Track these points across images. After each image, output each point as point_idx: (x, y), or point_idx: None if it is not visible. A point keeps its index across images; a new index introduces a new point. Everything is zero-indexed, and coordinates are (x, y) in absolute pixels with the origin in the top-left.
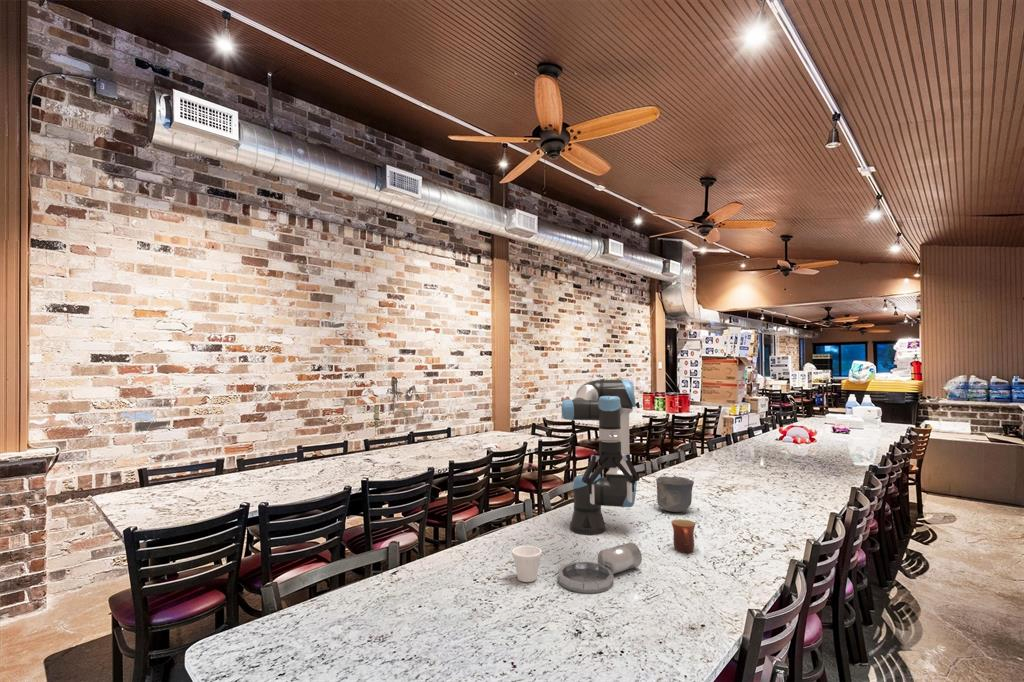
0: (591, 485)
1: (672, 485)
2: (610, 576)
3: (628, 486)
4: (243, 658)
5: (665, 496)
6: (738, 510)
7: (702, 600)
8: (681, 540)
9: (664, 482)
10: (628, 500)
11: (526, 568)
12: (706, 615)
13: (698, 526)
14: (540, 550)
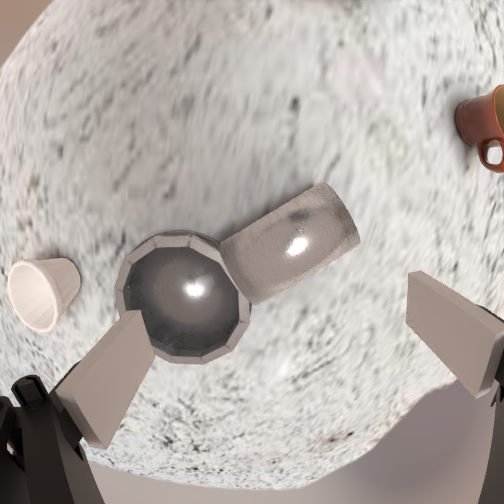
0: (84, 430)
1: None
2: (239, 332)
3: (465, 351)
4: None
5: None
6: None
7: (396, 374)
8: (481, 140)
9: None
10: (410, 296)
11: (52, 312)
12: (372, 413)
13: (497, 22)
14: (53, 301)
